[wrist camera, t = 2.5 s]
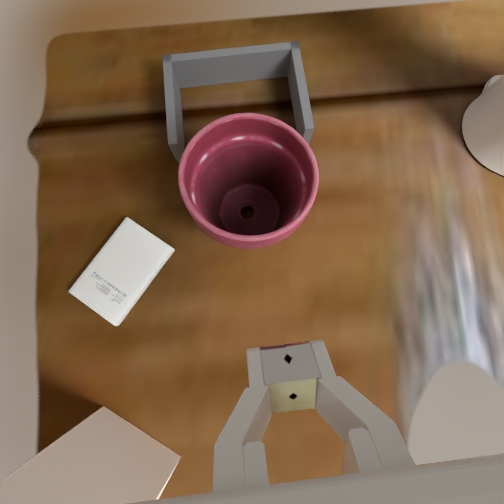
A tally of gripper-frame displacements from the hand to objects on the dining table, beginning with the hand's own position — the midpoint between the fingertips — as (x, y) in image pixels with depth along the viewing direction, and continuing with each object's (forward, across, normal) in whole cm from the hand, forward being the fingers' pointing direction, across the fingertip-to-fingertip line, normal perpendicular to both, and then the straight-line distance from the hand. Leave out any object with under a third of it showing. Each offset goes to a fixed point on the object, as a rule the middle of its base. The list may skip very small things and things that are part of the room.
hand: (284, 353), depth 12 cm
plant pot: (+31, 0, +9) cm, 32 cm away
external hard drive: (+27, +18, +13) cm, 35 cm away
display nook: (+42, 0, -3) cm, 42 cm away
